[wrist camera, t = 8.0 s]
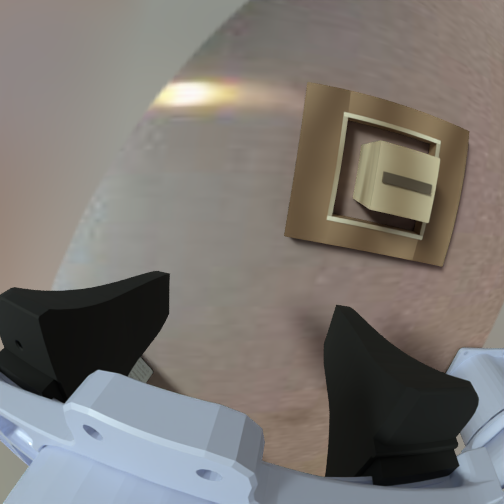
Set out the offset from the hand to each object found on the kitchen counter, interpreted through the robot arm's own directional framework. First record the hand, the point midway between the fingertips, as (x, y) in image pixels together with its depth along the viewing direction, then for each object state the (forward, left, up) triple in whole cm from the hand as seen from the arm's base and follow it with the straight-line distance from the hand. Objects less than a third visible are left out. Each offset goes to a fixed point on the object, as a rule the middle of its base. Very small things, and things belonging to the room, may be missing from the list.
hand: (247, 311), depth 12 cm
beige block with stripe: (-8, -6, -10) cm, 14 cm away
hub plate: (-8, -7, -10) cm, 14 cm away
